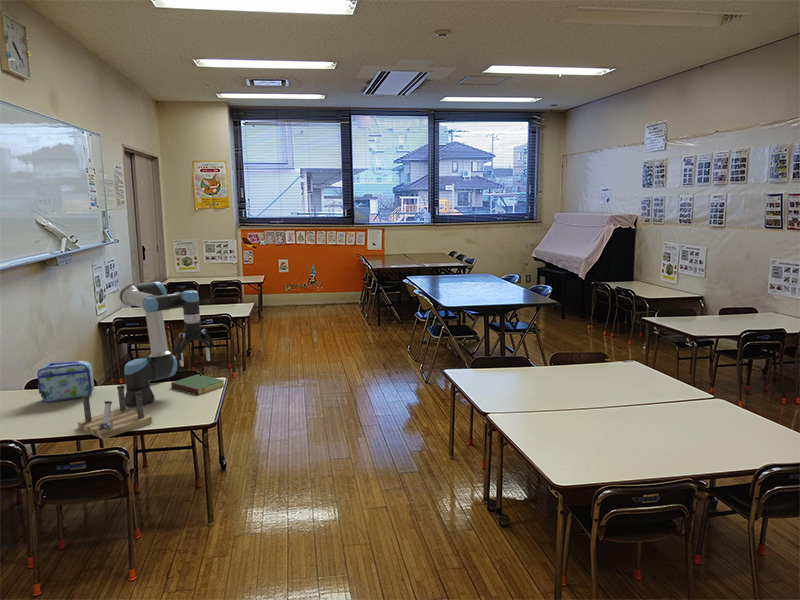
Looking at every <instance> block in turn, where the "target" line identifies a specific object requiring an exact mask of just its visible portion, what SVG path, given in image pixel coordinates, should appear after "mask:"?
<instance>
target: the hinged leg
mask: <svg viewBox="0 0 800 600" xmlns="http://www.w3.org/2000/svg"><path fill="white" fill-rule="evenodd" d="M111 407H112V401H111V400H108V401H107V400H106V401H104V411H103V412H104V413H103V414H104V419H103V424H102V429H109V420H110V412H111Z"/></svg>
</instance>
